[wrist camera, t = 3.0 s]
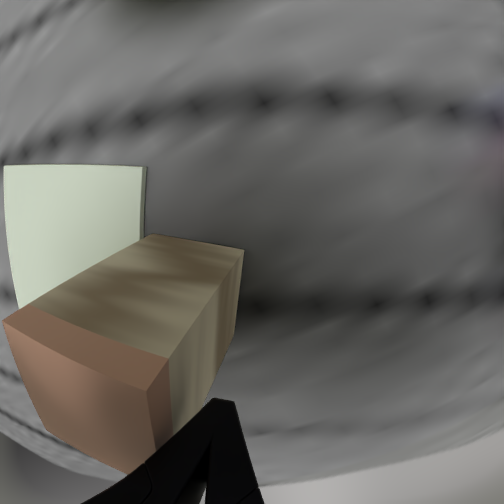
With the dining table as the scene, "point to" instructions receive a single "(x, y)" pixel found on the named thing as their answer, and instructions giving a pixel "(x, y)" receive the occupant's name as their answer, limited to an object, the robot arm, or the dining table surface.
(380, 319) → the dining table surface
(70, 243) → the sage mat
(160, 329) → the birch block
